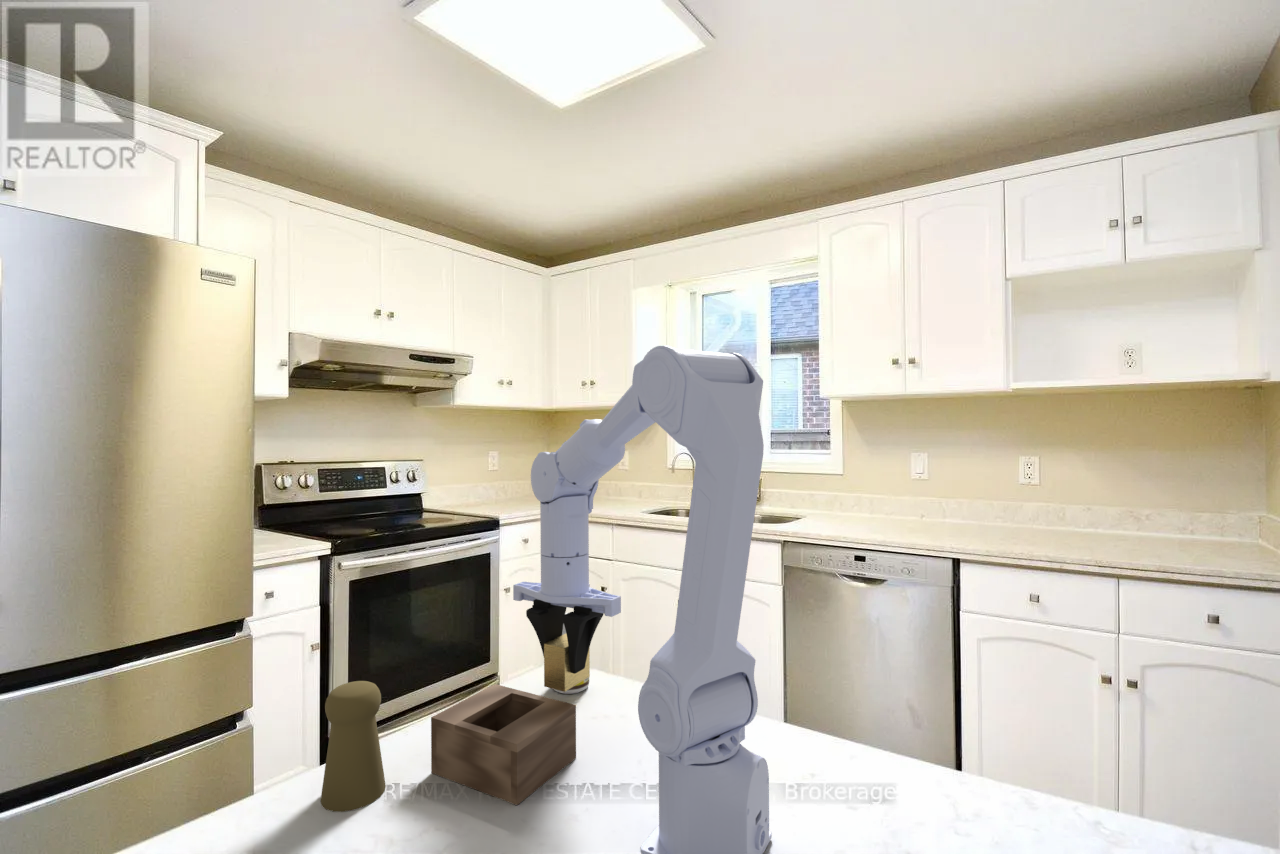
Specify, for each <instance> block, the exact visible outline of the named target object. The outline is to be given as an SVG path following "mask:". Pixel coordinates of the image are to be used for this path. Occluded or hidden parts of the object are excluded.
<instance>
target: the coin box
mask: <svg viewBox="0 0 1280 854" xmlns="http://www.w3.org/2000/svg"><path fill="white" fill-rule="evenodd" d="M430 720H431V721H430V731H431V732H430V737H431V738H430V739H431V740H430V743H431V744H430V746H431V749H430V750H431V751H430V755H431V756H430V757H431V759H430V761H431V763H430V764H431V765H430V767H431V768H430V773H431V774H433V775H435V776H439V777H441V778H444V779H447V780H449V781H452V782H454V783H458V784H460V785H462V786H465V787H467V788H470V789H472V790H475V791H478V792H481V793H484V794H486V795H489V796H491V797H493V798H497V799H499V800H502V801H504V802H508V803H509V804H513V805H515V806H518V805H520V804H521V803H522V802H524V801H525V800H526V799H527V798H528V797H530V796H531V795H532V794H533V793H535V792H536V791H538V790H539V789H540V788H541V787H542V786H543V785H545V784H546V783H547V782H548V781H550V780H551V779H552V778H553V777H554V776H556V775H557V774H559V773H560V772H561V771H562V770H564V769H565V768H566V767H567V766H569V765H570V764H571V763H573V762H574V761H575V760H576V759H577V705H576V704H574V703H570V702H566V701H563V700H558V699H554V698H550V697H547V696H544V695H539V694H536V693H532V692H528V691H523V690H520V689H516V688H512V687H509V686H504V685H500V684H497V683H494V684H493V685H490V686H489V687H487V688H485V689H483V690H481V691H479V692H478V693H476V694H473V695H472V696H470V697H467V698H466V699H464V700H462V701H459V702H458V703H456V704H455V705H452V706H450V707H449V708H446V709H445V710H443V711H440V712H439V713H437V714H434V715H433V716H431V718H430Z"/></svg>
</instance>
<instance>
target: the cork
mask: <svg viewBox="0 0 1280 854" xmlns="http://www.w3.org/2000/svg"><path fill="white" fill-rule="evenodd" d="M381 704H382V693H381V690H380V688H379V687H378V686H377V684H376V683H375V682H371V681H367V680H356V681H350V682H346V683H343V684H340V685H338V686H336V687H335V688H334V689H332V690H331V691H330V693H329V694H328V696H327V697H326V700H325V703H324V710H325V715H326V718H327V720H328V722H329V723H330V729H329V736H328V737H329V738H328V745H327V753H326V758H325V766H324V774H323V782H322V787H321V793H320V794H321V795H320V805H321V807H322V808H323V809H325V810H326V811H330V812H333V813H334V812H336V813H339V812H340V813H344V812H351V811H355V810H358V809H362V808H365V807H366V806H368V805H371V804H372V803H375V802H376V801H377V800H378V799H380V798H381V797H382V796H383V794H384V793H385V791H386V787H387V786H386V781H385V780H386V779H385V772H384V765H383V764H384V763H383V759H382V751H381V745H380V744H381V743H380V738H379V731H378V725H377V713H378V712H379V711H380V707H381Z"/></svg>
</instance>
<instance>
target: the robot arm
mask: <svg viewBox="0 0 1280 854" xmlns="http://www.w3.org/2000/svg"><path fill="white" fill-rule="evenodd" d="M631 382H632V384H631V386H630V387H628V389H627V390H626V391H625V392H624V394H623V395H622V396H621V397H620V399H618V401H617V402H616V403H615V404H614V405H613V407H612V408H611V409H610V410H609V411H608V412H607V414H606V415H605V416H604V418H602V419H599V418H594V419H583V421H581V423H579V428H578V429H577V430H576V431H575V432H574V433H573V434H572V435H571V436H570V437H569V438H568V439H567V440H565V441H564V442H563V443H561V446H560V447H559V448H558V449H557V450H556V451H551V452H549V451H540V452H539V453H537V455H536V457H535V458H534V459H533V461H532V465H531V469H530V485H531V489H532V492H533V494H534V497H535V498H536V499H537V500H538V501H539V502H540V505H539V506H540V508H539V509H540V511H539V512H540V516H539V517H540V518H539V519H540V582H532V581H521V582H518V583H515V584H513V586H512V588H513V591H512V593H513V594H512V596H513V597H512V598H513V601H516V602H521V601H527V602H533V604H532V607H530V608H527V609H526V611H525V614H526V618H527V619H528V621H529V622H530V624H531V626H532V627H533V630H534V631H535V633H536V634H535V635H536V636H537V639H538V641H539V642H538V643H539V644H540V645H539V646H540V648H541V652H542V656H543V657H544V644H545V643H547V642H549V641H551V640H553V639H555V638H557V637H559V636H562V631H563V623H564V626H565V630H566V634H567V639H568V648H569V667H570V672H571V673H574V674H575V673H577V672H579V671H581V670H583V669H584V668H585V664H586V659H587V655H588V651H589V647H591V643H592V640H593V637H594V634H595V632H596V630H597V627H598V626H599V624H600V622H601V620H602V618H603V617H604V616H605V617H608V618H609V617H611V618H612V617H615V616H616V615H619V614H621V613H622V596H621V595H616V594H612V593H608V592H605V591H602V590H599V589H597V588H594V587H591V586H590V585H591V584H590V570H589V569H590V567H589V566H590V557H589V555H590V553H589V550H590V549H589V548H590V544H589V543H590V542H589V541H590V540H589V539H590V538H589V536H590V535H589V533H590V532H589V531H590V530H589V529H590V527H589V523H590V522H589V517H590V516H589V514H592V511H593V509H594V498H595V494H596V493H597V490H598V487H599V480H601V478H603V476H605V475H606V474H607V473H608V472H609V471H611V470H612V469H613V468H615V467H616V466H617V465H618V464H619V463H620V462H621V461H622V460H623V459H624V456H625V454H626V445H627V444H628V443H629V442H630V441H631V440H633V439H634V438H635V437H637V436H639V435H640V434H641V433H643V432H644V431H645V430H648V429H649V427H651V426H653V425H654V424H655V423H656V424H657V425H658V426H659V427H660V428H661V429H662V430H663V431H665V432H666V433H667V434H668V436H670V437H671V438H672V439H673V440H674V441H675V442H676V443H677V444H678V445H680V446H683V447H684V448H686V449H687V451H688V453H689V454H690V456H691V457H692V458H693V460H694V463H695V466H694V473H693V481H692V488H691V489H692V490H691V498H690V505H689V506H690V507H689V512H688V513H689V514H688V519H687V520H688V521H687V529H686V537H685V538H686V539H685V545H684V553H683V559H682V560H683V561H682V567H681V569H682V570H681V577H680V585H679V592H678V600H677V607H676V616H675V617H676V618H675V624H674V625H675V626H674V631H673V634H672V635H671V636H670V637H669V638H668V640H666V642H665V643H664V644H663V645H662V646H661V647H660V648H659V650H657V652H656V653H655V654H654V655H653V657H652V658H651V659H650V662H649V669H648V670H649V671H648V675H647V677H646V680H645V681H644V683H643V685H642V686H641V688H640V689H639V690H640V691H639V695H638V702H637V703H638V704H637V711H638V713H637V714H638V719H639V725H640V727H641V729H642V732H643V734H644V736H645V738H646V739H647V741H648V743H649V744H650V745H651V746H652V747H653V748H654V749H655V750H656V751H657V752H658V825H657V826H656V827H655V828H654V830H653V831H652V832H651V833H650V835H648V837H647V838H646V839H645V841H643V843H642V844H641V846H640V853H641V854H764V853H765V851H766V848H768V845H769V843H770V842H771V840H772V836H773V833H772V831H771V829H770V780H769V779H770V778H769V777H770V775H769V774H770V773H769V766H768V761H767V760H766V759H765V758H764V757H763V756H760V755H759V754H756V753H754V752H752V751H750V750H748V749H747V748H746V747H745V746H744V745H742V744H741V743H742V742H743V741H744V740H745V739H746V733H745V732H746V727H747V726H748V725H749V724H751V723H752V722H753V720H754V719H755V717H756V714H757V711H758V707H759V705H758V704H759V698H758V692H757V687H756V683H755V682H756V681H755V666H756V659H755V657H754V656H753V655H752V654H751V652H750V651H749V650H748V648H746V647H745V646H744V644H742V643H741V642H740V641H738V636H739V629H740V621H741V613H742V606H743V599H744V593H745V585H746V579H747V573H748V572H747V571H748V565H749V557H750V552H751V545H752V537H753V530H754V529H753V528H754V523H755V516H756V508H757V501H758V495H759V494H758V493H759V488H760V487H759V486H760V480H761V473H762V466H763V458H764V444H765V443H764V439H763V431H762V426H761V420H760V408H761V401H762V393H763V389H764V380H763V378H762V377H761V376H760V375H759V373H758V372H757V370H756V369H755V367H754V366H753V365H752V364H751V362H750V361H749V360H748V359H747V357H745V356H743V355H742V354H740V353H737V352H724V353H723V352H715V351H714V352H713V351H706V350H705V351H703V350H696V349H695V350H694V349H686V348H685V349H684V348H675V347H672V346H670V345H663V344H661V345H657V346H655V347H652V348H651V349H650V350H649V351H648V352H647V353H646V354H645V355H644V357H643V358H642V360H640V361H639V362H637V364H635V365H634V367H633V373H632V381H631ZM567 608H569V609H570V608H571V609H573V611H570V612H567ZM565 613H567V614H565Z"/></svg>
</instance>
